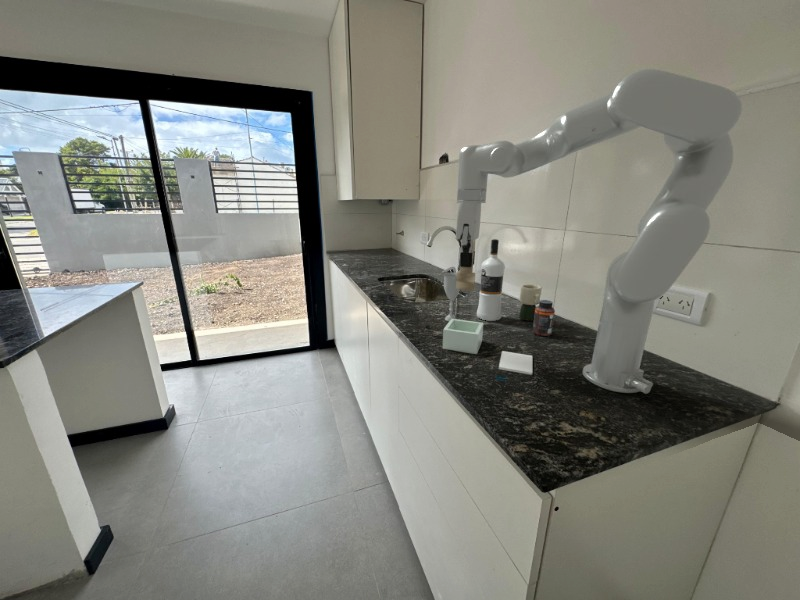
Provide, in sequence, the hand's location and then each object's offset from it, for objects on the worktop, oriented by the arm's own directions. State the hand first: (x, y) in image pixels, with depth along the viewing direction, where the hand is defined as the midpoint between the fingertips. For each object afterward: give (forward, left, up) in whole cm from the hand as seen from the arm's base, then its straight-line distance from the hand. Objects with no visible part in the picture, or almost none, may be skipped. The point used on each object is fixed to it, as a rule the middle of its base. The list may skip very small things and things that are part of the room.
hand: (467, 265), depth 89 cm
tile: (-11, -11, -25) cm, 29 cm away
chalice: (+22, -6, -26) cm, 34 cm away
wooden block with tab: (0, 0, -7) cm, 7 cm away
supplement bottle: (+3, -31, -26) cm, 40 cm away
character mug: (+16, -35, -26) cm, 46 cm away
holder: (0, 0, -25) cm, 25 cm away
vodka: (+22, -22, -26) cm, 40 cm away
